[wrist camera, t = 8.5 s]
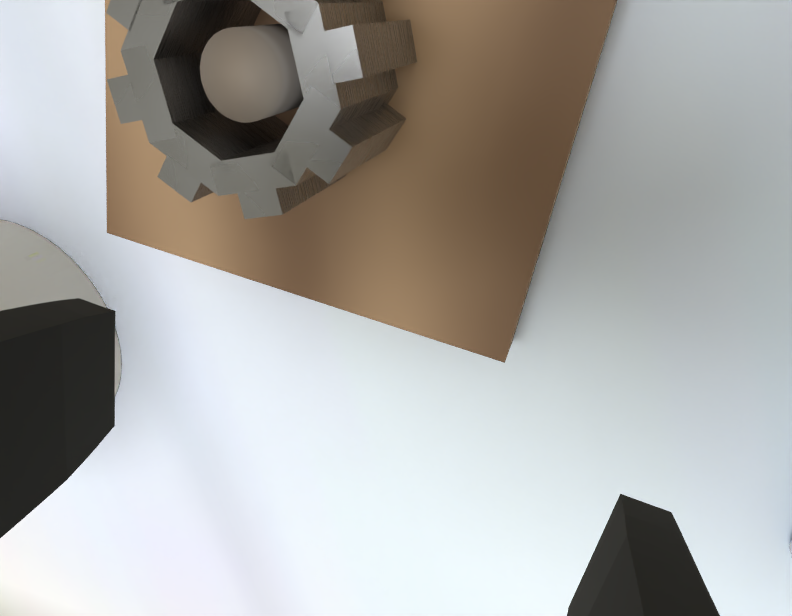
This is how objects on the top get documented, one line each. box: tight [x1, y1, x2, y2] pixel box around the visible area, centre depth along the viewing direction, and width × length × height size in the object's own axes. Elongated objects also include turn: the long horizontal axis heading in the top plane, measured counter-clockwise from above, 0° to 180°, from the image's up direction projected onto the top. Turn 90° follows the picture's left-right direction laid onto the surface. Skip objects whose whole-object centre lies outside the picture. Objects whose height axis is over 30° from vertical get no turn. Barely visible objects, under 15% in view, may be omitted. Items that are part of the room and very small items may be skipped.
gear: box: [106, 0, 417, 219], centre depth 15 cm, size 6×6×4 cm
